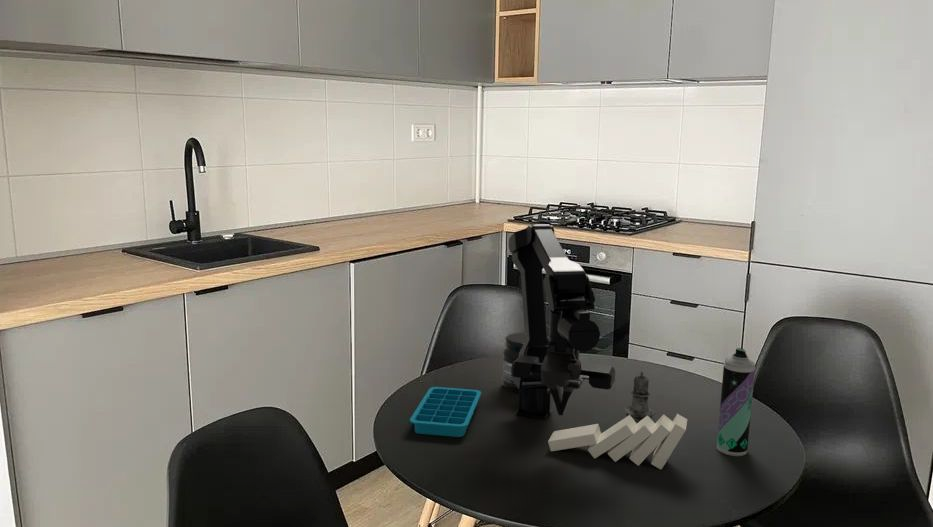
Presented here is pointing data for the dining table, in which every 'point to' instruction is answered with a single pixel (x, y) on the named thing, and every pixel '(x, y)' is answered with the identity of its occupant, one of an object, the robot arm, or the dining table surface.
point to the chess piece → (639, 400)
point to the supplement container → (511, 358)
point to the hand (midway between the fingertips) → (561, 414)
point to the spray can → (736, 404)
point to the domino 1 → (574, 437)
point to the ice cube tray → (445, 411)
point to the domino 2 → (613, 436)
